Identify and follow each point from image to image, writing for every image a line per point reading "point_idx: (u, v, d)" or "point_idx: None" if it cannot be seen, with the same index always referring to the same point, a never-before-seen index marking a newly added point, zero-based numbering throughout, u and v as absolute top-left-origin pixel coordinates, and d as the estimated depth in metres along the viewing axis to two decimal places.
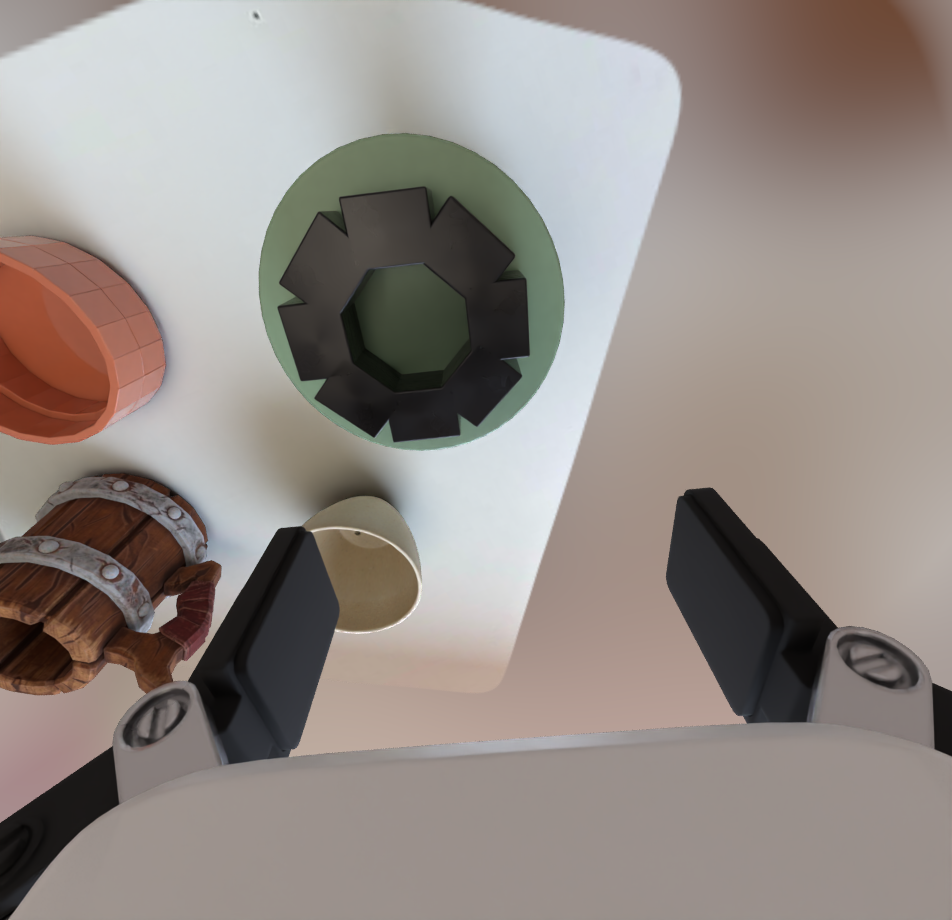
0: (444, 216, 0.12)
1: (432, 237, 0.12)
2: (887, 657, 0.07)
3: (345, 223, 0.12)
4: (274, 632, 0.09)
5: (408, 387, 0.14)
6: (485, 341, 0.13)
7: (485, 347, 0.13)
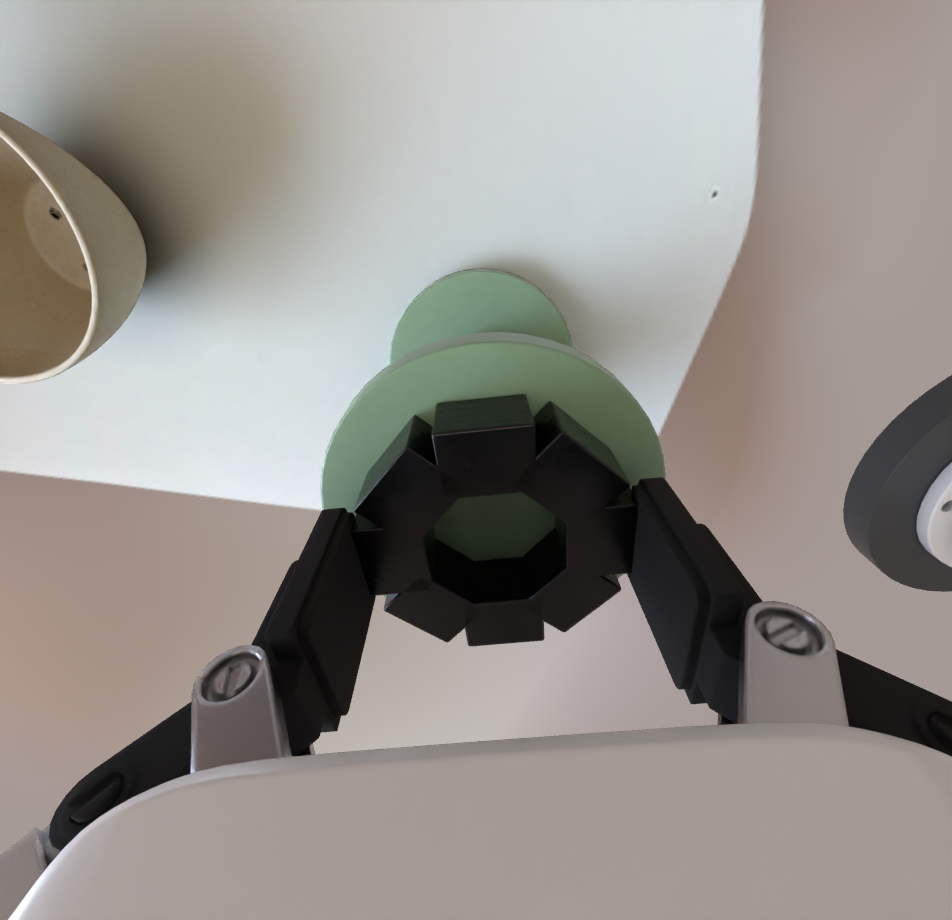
0: (605, 585, 0.12)
1: (589, 577, 0.12)
2: (796, 625, 0.07)
3: (615, 508, 0.11)
4: (328, 603, 0.09)
5: (426, 542, 0.12)
6: (485, 616, 0.13)
7: (478, 615, 0.13)
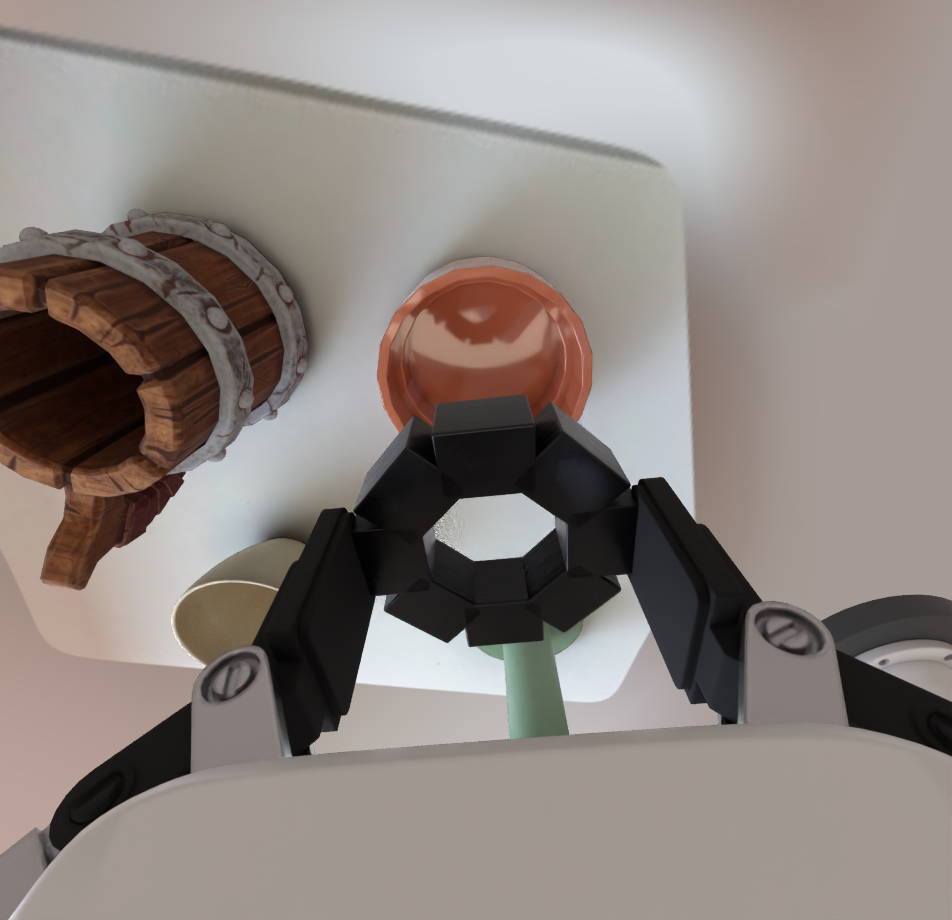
0: (605, 585, 0.12)
1: (589, 577, 0.12)
2: (796, 625, 0.07)
3: (615, 509, 0.11)
4: (328, 603, 0.09)
5: (426, 543, 0.12)
6: (485, 616, 0.13)
7: (478, 616, 0.13)
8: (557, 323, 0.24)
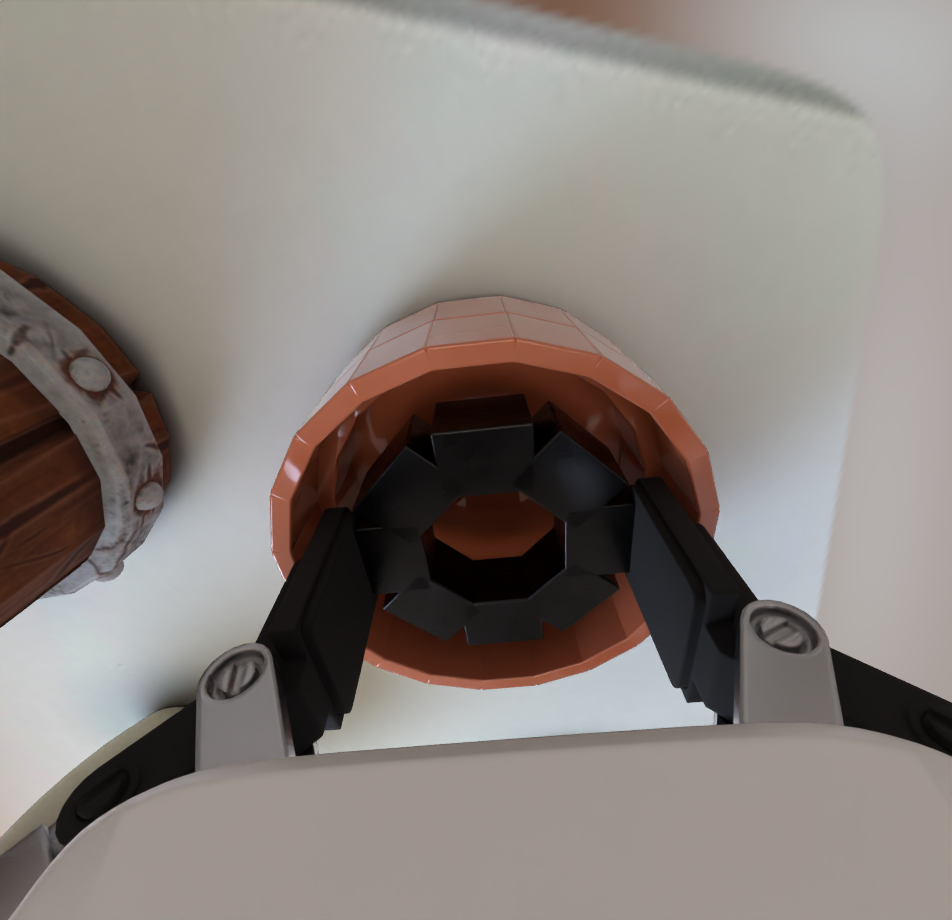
0: (604, 584, 0.12)
1: (588, 576, 0.12)
2: (791, 624, 0.07)
3: (613, 507, 0.11)
4: (331, 602, 0.09)
5: (425, 541, 0.12)
6: (484, 615, 0.13)
7: (477, 614, 0.13)
8: (635, 429, 0.12)
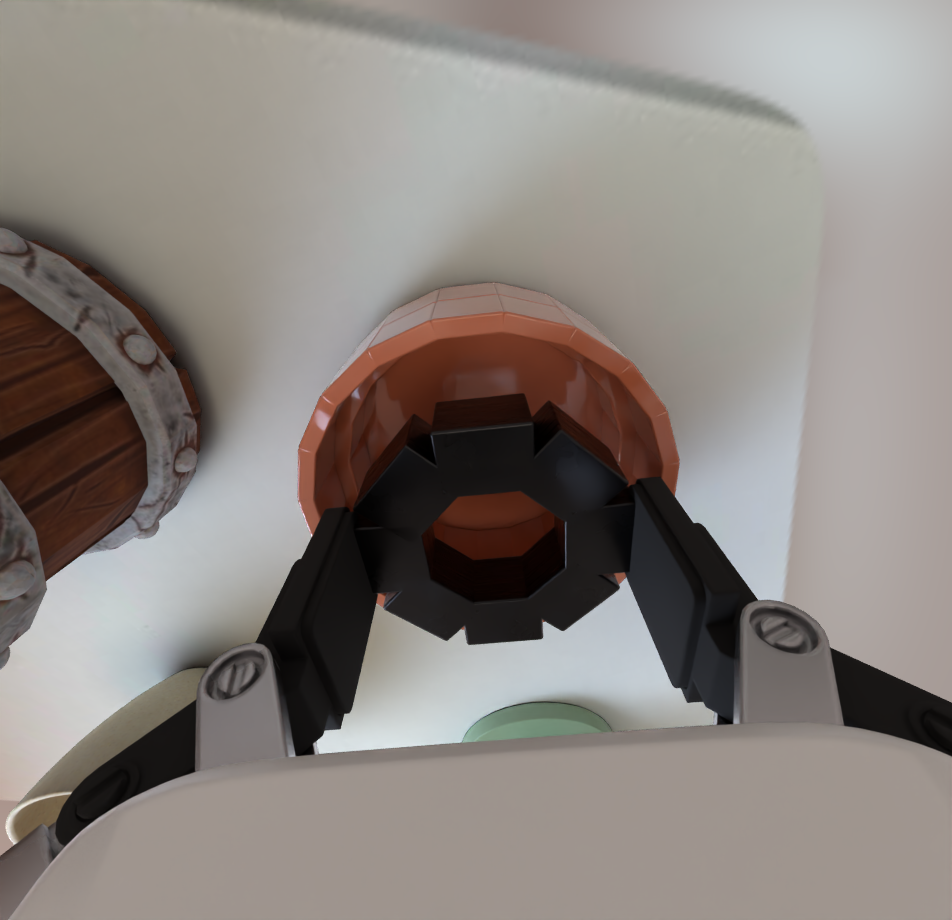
0: (604, 583, 0.12)
1: (588, 575, 0.12)
2: (790, 624, 0.07)
3: (613, 507, 0.11)
4: (331, 602, 0.09)
5: (425, 541, 0.12)
6: (484, 614, 0.13)
7: (477, 614, 0.13)
8: (611, 397, 0.14)
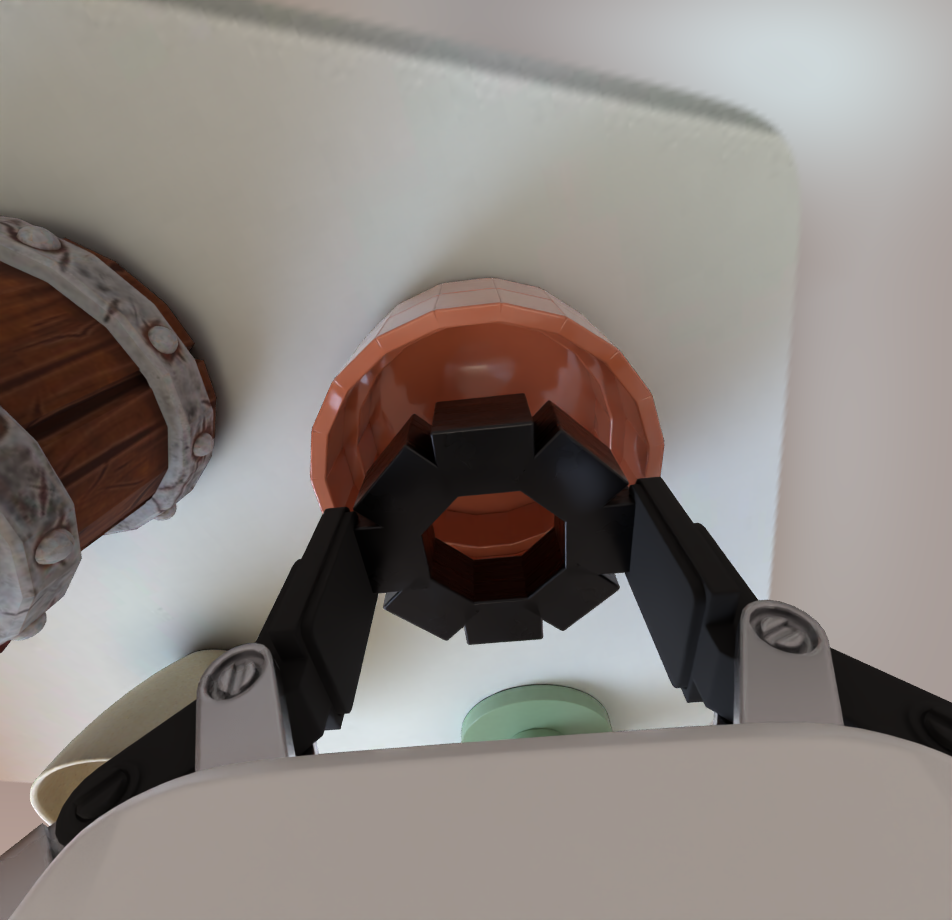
0: (604, 583, 0.12)
1: (588, 575, 0.12)
2: (791, 624, 0.07)
3: (613, 507, 0.11)
4: (331, 602, 0.09)
5: (425, 541, 0.12)
6: (484, 614, 0.13)
7: (477, 614, 0.13)
8: (601, 385, 0.15)
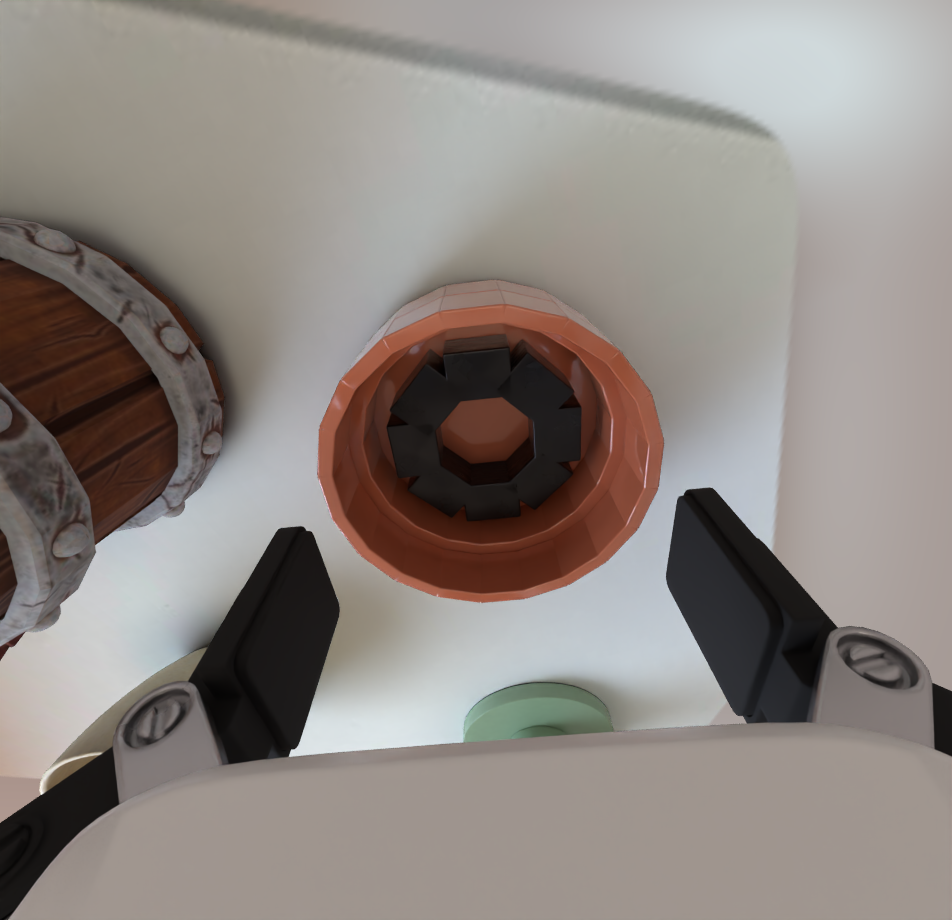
0: (562, 470, 0.17)
1: (550, 463, 0.17)
2: (887, 657, 0.07)
3: (565, 409, 0.16)
4: (274, 632, 0.09)
5: (437, 437, 0.17)
6: (478, 495, 0.18)
7: (474, 495, 0.18)
8: (602, 385, 0.15)
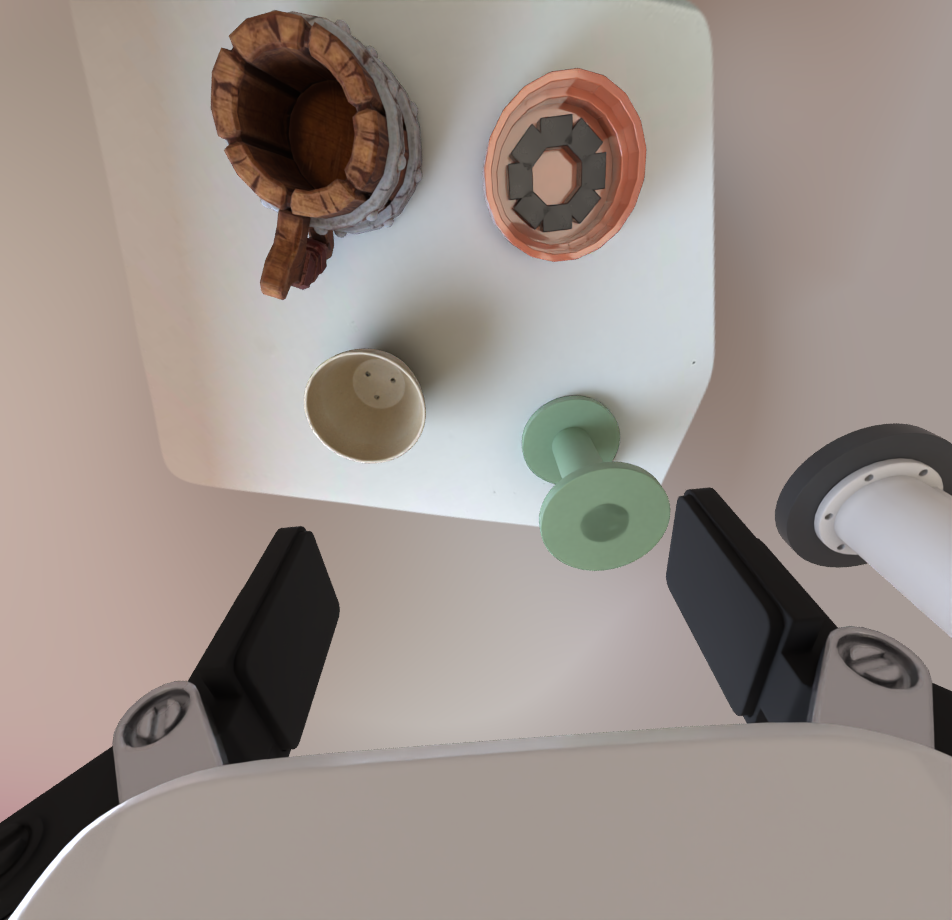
0: (595, 195, 0.33)
1: (589, 190, 0.33)
2: (887, 657, 0.07)
3: (598, 153, 0.32)
4: (274, 632, 0.09)
5: (532, 174, 0.33)
6: (551, 212, 0.34)
7: (548, 212, 0.34)
8: (617, 134, 0.31)
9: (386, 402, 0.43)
